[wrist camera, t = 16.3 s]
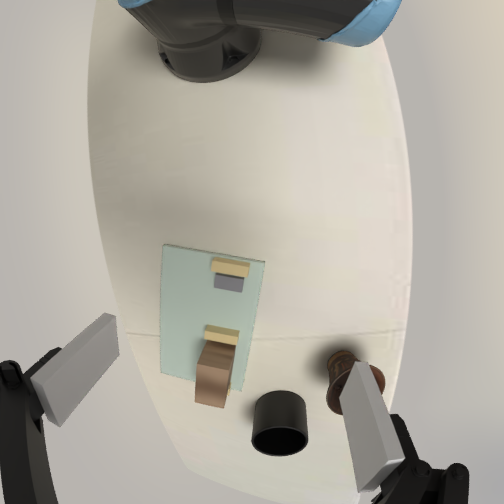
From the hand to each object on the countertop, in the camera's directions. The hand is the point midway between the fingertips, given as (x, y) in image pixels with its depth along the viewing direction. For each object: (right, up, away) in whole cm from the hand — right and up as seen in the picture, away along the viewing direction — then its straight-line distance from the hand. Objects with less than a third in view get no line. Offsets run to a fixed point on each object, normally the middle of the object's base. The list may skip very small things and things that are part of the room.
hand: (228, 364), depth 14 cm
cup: (+17, -12, +29) cm, 36 cm away
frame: (-4, -12, +30) cm, 32 cm away
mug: (+7, -25, +34) cm, 42 cm away
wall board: (-6, -6, +30) cm, 31 cm away
